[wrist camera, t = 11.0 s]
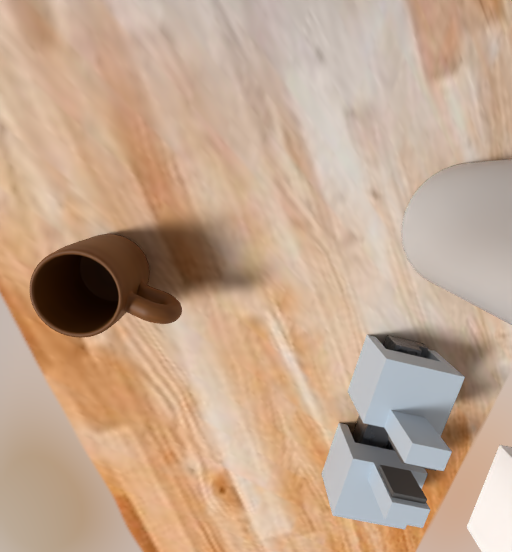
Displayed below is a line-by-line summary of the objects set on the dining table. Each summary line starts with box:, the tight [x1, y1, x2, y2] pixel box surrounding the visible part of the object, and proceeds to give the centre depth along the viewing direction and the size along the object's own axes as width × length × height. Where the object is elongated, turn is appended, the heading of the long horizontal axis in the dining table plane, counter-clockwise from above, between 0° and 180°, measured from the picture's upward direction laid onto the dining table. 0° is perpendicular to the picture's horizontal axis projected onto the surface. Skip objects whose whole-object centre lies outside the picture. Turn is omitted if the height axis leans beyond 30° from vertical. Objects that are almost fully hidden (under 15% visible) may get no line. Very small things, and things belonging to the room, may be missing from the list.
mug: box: [30, 234, 182, 337], centre depth 36 cm, size 12×8×9 cm, turn 72°
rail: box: [352, 335, 428, 450], centre depth 44 cm, size 20×4×3 cm, turn 166°
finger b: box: [348, 335, 465, 471], centre depth 38 cm, size 8×8×11 cm
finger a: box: [322, 423, 430, 529], centre depth 41 cm, size 8×8×11 cm
